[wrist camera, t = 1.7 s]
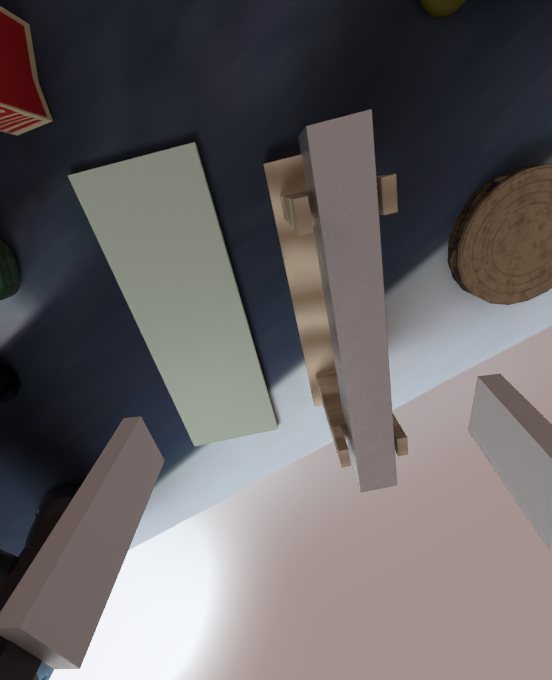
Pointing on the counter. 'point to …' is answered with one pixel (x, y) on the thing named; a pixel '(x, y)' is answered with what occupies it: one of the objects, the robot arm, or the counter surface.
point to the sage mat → (180, 288)
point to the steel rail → (353, 285)
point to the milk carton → (19, 78)
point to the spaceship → (441, 7)
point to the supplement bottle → (7, 385)
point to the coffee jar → (8, 272)
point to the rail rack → (316, 288)
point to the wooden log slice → (506, 238)
